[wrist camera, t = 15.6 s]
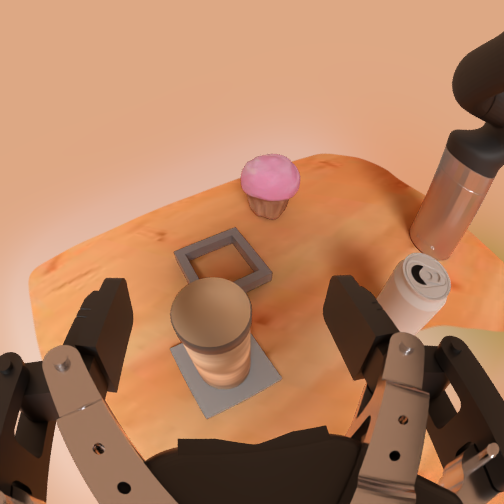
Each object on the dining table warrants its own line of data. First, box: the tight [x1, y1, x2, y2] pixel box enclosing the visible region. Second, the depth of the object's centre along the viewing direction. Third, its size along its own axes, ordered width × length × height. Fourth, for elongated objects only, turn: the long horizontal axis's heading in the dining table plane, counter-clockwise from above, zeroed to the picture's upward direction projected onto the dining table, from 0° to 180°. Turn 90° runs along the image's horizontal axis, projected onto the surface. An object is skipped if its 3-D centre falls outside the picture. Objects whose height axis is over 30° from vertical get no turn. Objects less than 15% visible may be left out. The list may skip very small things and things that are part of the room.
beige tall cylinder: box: [170, 277, 252, 390], centre depth 24 cm, size 6×6×12 cm
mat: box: [170, 333, 282, 419], centre depth 28 cm, size 9×9×1 cm
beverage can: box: [376, 253, 451, 336], centre depth 26 cm, size 6×6×12 cm
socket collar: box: [174, 227, 272, 293], centre depth 37 cm, size 10×10×2 cm
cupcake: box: [241, 154, 300, 220], centre depth 42 cm, size 9×9×10 cm
